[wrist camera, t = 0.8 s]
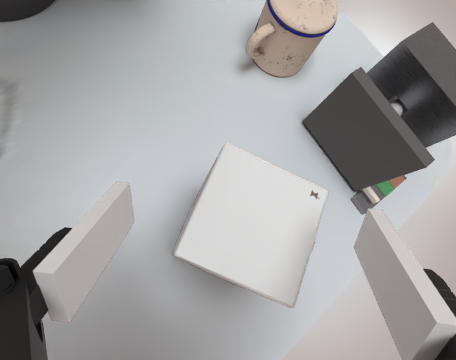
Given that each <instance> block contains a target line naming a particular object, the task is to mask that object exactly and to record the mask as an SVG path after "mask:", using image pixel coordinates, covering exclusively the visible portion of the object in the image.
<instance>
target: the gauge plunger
mask: <svg viewBox="0 0 456 360" xmlns="http://www.w3.org/2000/svg"><path fill="white" fill-rule="evenodd" d="M406 111H408V109H407V108H406V107H405V106H404V104H403V103H402V102H401V101H400V99H396V100H395V101H394V102H392V103H391V104H390V103H389V102H388V100H387V99H386V98H385V97H384V95H383V94H382V93H381V91H380V90H379V89H378V88H377V86H376V85H375V84H374V83H373V81H372V80H371V79H370V78H369V76H368V75H367V74H366V73H365V71H364V70H363V69H362V68H361V67H360V68H359V69H357V70H355V71H354V72H352V73H351V74H350V75H349V76H348V77H347V78H346V79H345V80H344V81H343V82H342V83H341V84H340V85H339V86H338V87H337V88H336V89H335V90H334V91H333V92H332V93H331V94H330V95H329V96H328V97H327V98H326V99H325V100H324V101H323V102H322V103H321V104H320V105H319V106H318V107H317V108H316V109H315V110H313V111H312V112H311V113H310V114H309V115H308V116H307V117H306V118H305V119H304V120H303V123H304V124H305V125H306V127H307V128H308V129H309V131H310V132H311V133H312V135H313V136H314V137H315V139H316V140H317V141H318V143H319V144H320V145H321V147H322V148H323V149H324V150H325V152H326V153H327V154H328V156H329V157H330V158H331V160H332V161H333V162H334V164H335V165H336V166H337V168H338V169H339V170H340V172H341V173H342V174H343V176H344V177H345V178H346V180H347V181H348V182H349V184H350V185H351V186H352V188H353V189H354V190H355V191H358V190H361V189H362V190H363V191H364V192H365V193H366V195H367V196H368V197H369V199H370V200H371V201H372V203H373V204H374V203H378V202H379V201H380V199H379V198H378V196H377V195H376V194H375V192H374V191H373V190H372V188H371V187H370V186H373V185H376V184H379V183H382V182H385V181H388V180H391V179H394V178H396V177H399V176H402V175H405V174H408V173H411V172H414V171H417V170H420V169H423V168H426V167H427V166H428V165H430V164H431V163H432V162H433V161H434V160H435V159H434V158H433V157H432V156H431V154H430V153H429V152H428V151H427V149H426V148H425V147H424V146H423V144H422V143H421V142H420V140H419V139H418V138H417V137H416V135H415V134H414V133H413V132H412V130H411V129H410V128H409V127H408V125H407V124H406V123H405V122H404V120H403V119H402V118H401V117H400V116H401V115H402V114H404V113H405V112H406Z"/></svg>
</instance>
